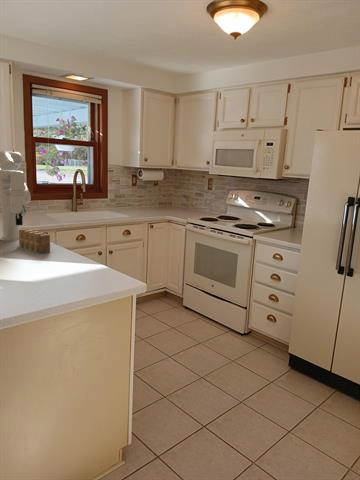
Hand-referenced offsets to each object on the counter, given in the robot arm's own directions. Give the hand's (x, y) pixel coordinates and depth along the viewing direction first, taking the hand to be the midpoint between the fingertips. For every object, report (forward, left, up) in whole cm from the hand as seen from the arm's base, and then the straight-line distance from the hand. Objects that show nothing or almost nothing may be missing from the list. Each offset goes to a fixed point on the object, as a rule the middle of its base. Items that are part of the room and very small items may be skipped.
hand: (19, 225), depth 211 cm
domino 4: (+18, +7, -12) cm, 23 cm away
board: (+14, +5, -12) cm, 19 cm away
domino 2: (+9, +3, -12) cm, 15 cm away
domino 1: (+4, +2, -12) cm, 13 cm away
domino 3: (+13, +5, -12) cm, 19 cm away
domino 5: (+23, +9, -12) cm, 27 cm away
